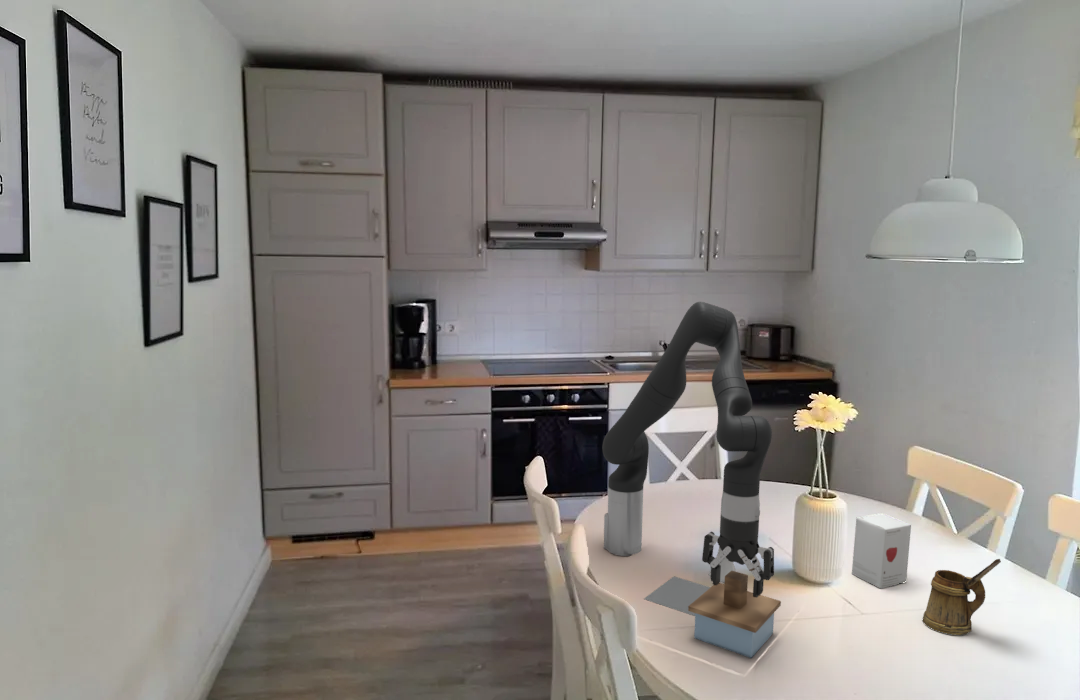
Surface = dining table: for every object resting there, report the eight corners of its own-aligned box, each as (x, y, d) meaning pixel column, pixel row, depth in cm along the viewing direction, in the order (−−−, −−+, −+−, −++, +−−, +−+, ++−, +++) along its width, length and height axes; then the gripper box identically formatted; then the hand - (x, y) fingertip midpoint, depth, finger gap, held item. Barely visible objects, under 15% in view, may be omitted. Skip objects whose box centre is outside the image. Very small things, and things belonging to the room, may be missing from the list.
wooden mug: (984, 650, 145) (992, 565, 143) (915, 623, 156) (921, 543, 153) (1001, 636, 151) (1009, 553, 148) (933, 611, 161) (940, 533, 159)
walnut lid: (688, 610, 147) (689, 578, 146) (716, 586, 158) (718, 555, 157) (755, 633, 138) (757, 598, 137) (780, 605, 149) (782, 573, 149)
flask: (739, 587, 172) (741, 546, 171) (708, 583, 174) (710, 544, 172) (737, 574, 179) (739, 535, 178) (707, 571, 181) (709, 532, 179)
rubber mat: (643, 601, 164) (643, 598, 164) (673, 578, 176) (673, 576, 176) (705, 622, 155) (705, 619, 155) (732, 596, 167) (732, 594, 167)
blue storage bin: (694, 640, 148) (695, 610, 147) (718, 617, 157) (719, 589, 156) (751, 661, 141) (752, 629, 140) (772, 635, 150) (774, 606, 149)
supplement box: (880, 589, 171) (885, 529, 170) (850, 574, 180) (854, 516, 178) (907, 583, 175) (912, 523, 173) (877, 568, 183) (881, 511, 181)
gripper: (698, 510, 147) (695, 586, 149) (768, 527, 138) (763, 607, 140) (714, 501, 153) (711, 574, 155) (781, 516, 144) (777, 593, 146)
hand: (736, 589), depth 148 cm, fingers open, 8 cm apart
